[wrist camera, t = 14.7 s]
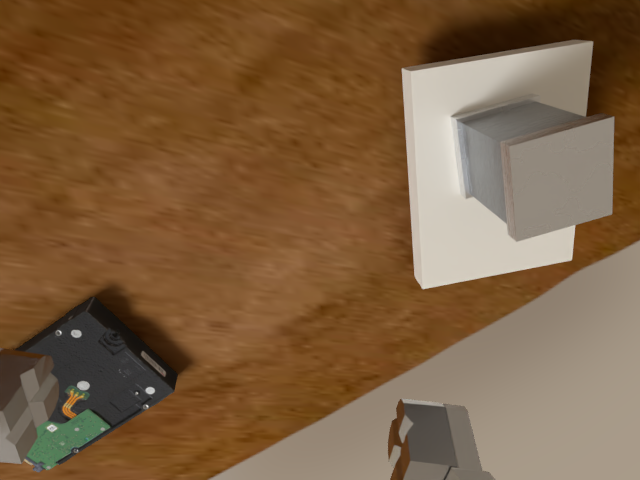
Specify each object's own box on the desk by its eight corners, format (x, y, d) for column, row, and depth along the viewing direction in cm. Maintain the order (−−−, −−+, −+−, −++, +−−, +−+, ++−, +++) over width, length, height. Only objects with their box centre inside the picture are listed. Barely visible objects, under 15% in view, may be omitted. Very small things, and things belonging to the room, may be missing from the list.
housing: (450, 116, 32) (509, 146, 25) (532, 93, 32) (614, 116, 25) (460, 194, 35) (516, 241, 27) (536, 172, 35) (612, 214, 27)
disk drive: (93, 289, 39) (-43, 386, 41) (83, 308, 36) (-62, 411, 38) (181, 369, 43) (54, 454, 45) (177, 391, 41) (42, 480, 43)
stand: (393, 65, 34) (410, 71, 31) (557, 38, 35) (593, 41, 31) (407, 264, 41) (422, 289, 37) (543, 238, 42) (571, 260, 38)
